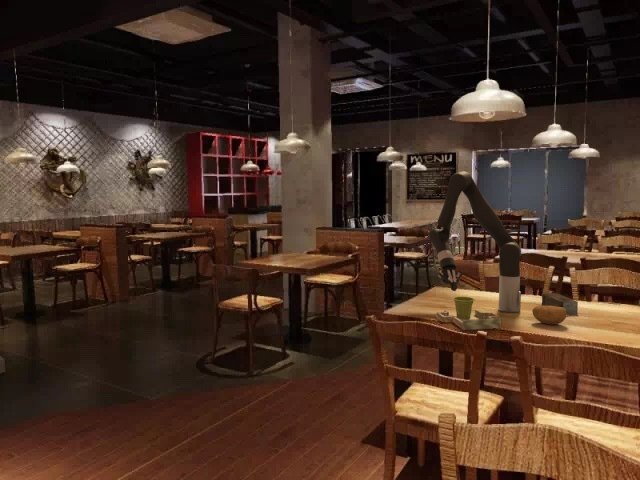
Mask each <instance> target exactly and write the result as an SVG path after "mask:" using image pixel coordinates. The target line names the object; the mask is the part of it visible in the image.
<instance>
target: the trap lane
mask: <svg viewBox="0 0 640 480" xmlns="http://www.w3.org/2000/svg"><path fill="white" fill-rule="evenodd" d="M435 314H436V319H438V320H439V321H440V320H441V321H440V322H442V323H453V324H455V325H456V326H457V327H459V328H460V329H461V330H463V331H469V330H491V329H492V330H493V328H496V329H501V316H500V315H498V314H497V313H495V312H493V311H481V310H480V309H474V315H475V317H476V316H477V317H478V319H477V318H476V319H463V320H461V318H459V317H457V316H455V315H450V312H449V311H448V310H444V311H436V313H435Z"/></svg>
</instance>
